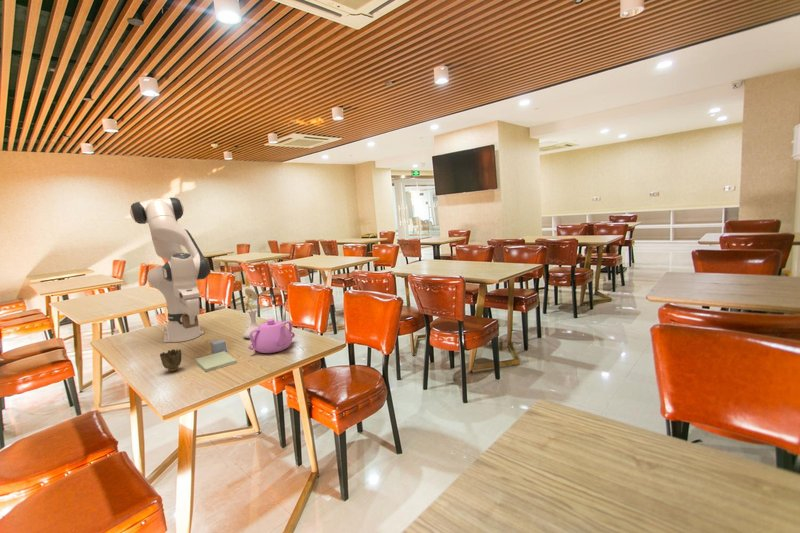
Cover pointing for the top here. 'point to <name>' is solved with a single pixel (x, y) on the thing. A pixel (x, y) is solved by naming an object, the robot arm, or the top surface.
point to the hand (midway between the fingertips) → (190, 322)
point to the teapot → (271, 337)
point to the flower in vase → (251, 313)
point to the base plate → (215, 361)
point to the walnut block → (186, 321)
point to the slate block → (218, 346)
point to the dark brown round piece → (171, 359)
